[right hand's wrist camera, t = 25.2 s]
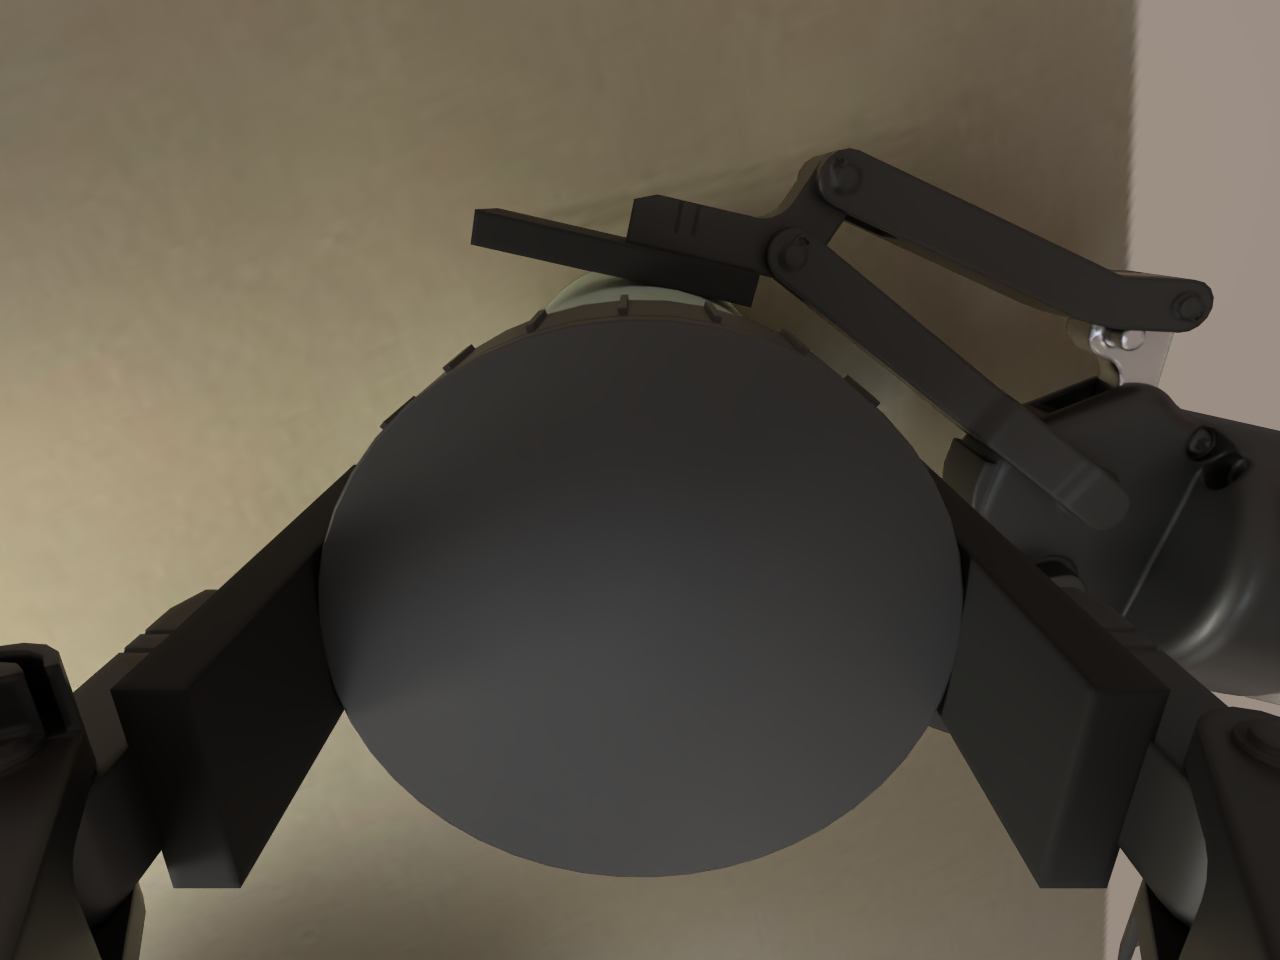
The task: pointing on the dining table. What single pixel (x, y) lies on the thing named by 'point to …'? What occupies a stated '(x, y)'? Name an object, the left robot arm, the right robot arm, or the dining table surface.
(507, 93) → the dining table surface
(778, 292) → the dining table surface
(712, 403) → the lid
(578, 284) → the jar
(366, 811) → the dining table surface
